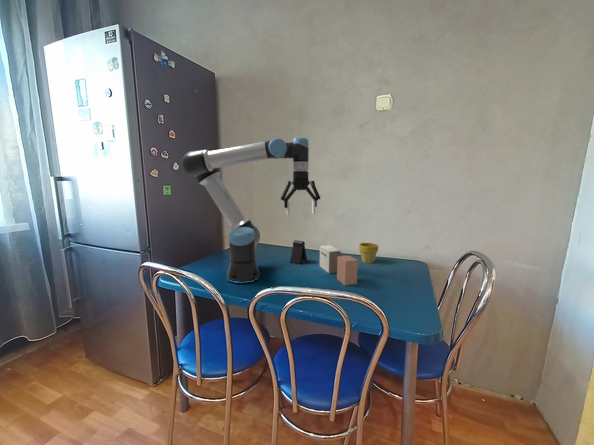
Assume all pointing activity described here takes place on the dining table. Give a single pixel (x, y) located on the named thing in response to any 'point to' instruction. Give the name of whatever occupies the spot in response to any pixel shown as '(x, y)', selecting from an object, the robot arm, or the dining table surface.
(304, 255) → the black a-frame stand
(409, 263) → the dining table surface
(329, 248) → the white box
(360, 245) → the plant pot
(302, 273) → the dining table surface
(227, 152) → the robot arm
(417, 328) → the dining table surface
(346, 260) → the salmon pink rectangular block
